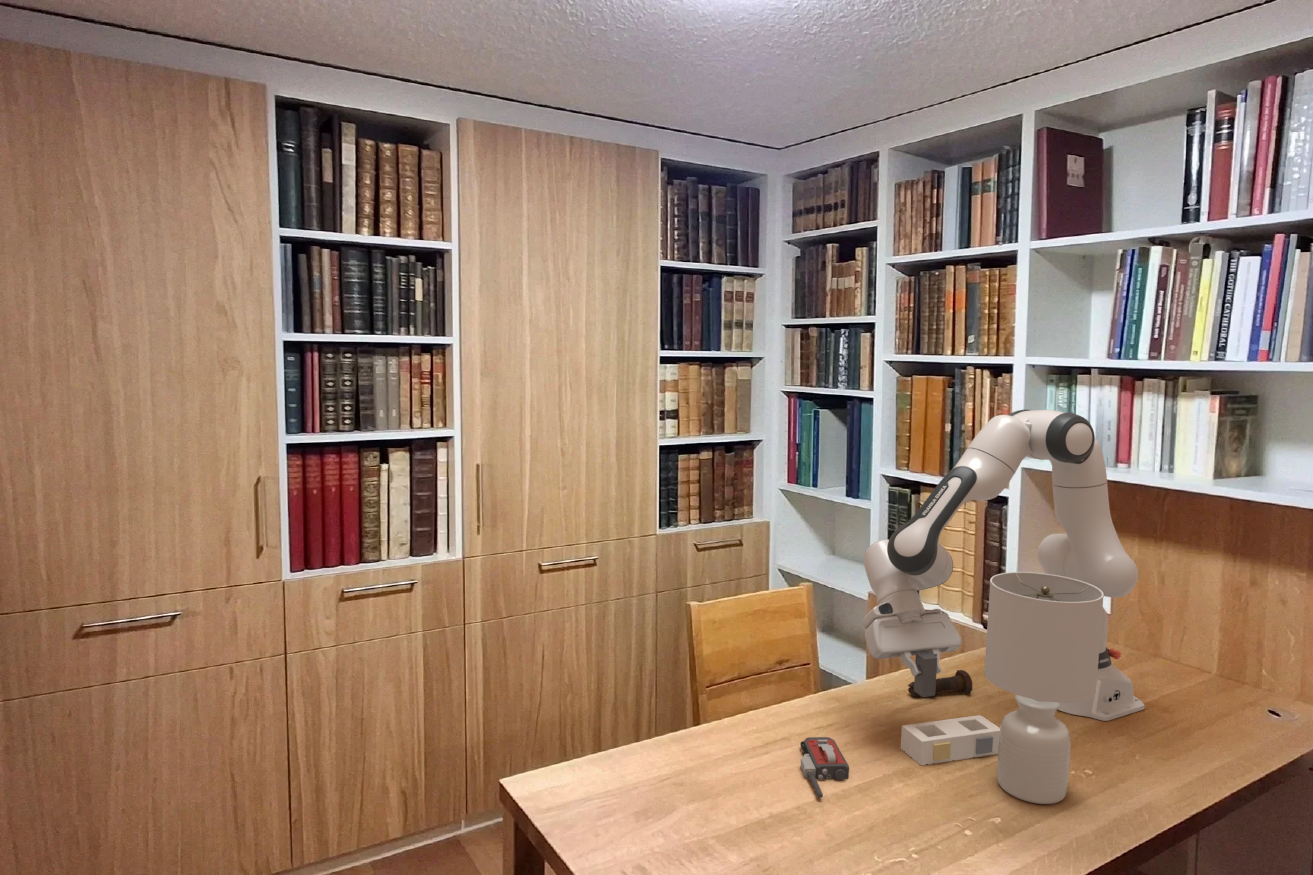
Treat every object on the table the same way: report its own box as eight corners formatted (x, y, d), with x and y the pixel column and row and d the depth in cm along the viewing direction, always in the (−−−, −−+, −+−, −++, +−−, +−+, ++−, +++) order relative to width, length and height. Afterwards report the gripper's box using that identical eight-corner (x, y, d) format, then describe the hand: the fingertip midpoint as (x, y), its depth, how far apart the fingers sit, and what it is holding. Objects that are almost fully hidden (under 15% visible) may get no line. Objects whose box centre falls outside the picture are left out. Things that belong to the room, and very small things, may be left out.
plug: (926, 689, 168) (928, 652, 167) (935, 695, 165) (937, 657, 164) (913, 690, 167) (915, 653, 166) (922, 696, 164) (924, 658, 163)
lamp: (1085, 828, 140) (1103, 609, 136) (970, 798, 149) (983, 591, 145) (1088, 779, 156) (1104, 581, 152) (984, 754, 165) (996, 566, 161)
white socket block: (978, 737, 173) (980, 714, 172) (1003, 754, 165) (1004, 731, 165) (900, 748, 167) (901, 725, 167) (922, 766, 160) (923, 742, 159)
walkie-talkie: (790, 748, 167) (814, 803, 147) (791, 728, 167) (815, 780, 147) (832, 748, 168) (862, 802, 148) (833, 727, 167) (863, 779, 147)
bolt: (908, 703, 193) (963, 695, 197) (918, 700, 189) (975, 693, 192) (902, 678, 195) (957, 670, 199) (912, 675, 191) (968, 667, 195)
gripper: (938, 614, 178) (963, 674, 170) (854, 622, 173) (877, 684, 165) (951, 601, 174) (978, 662, 165) (866, 608, 168) (890, 672, 160)
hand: (927, 673), depth 165 cm, fingers closed on plug, 3 cm apart
